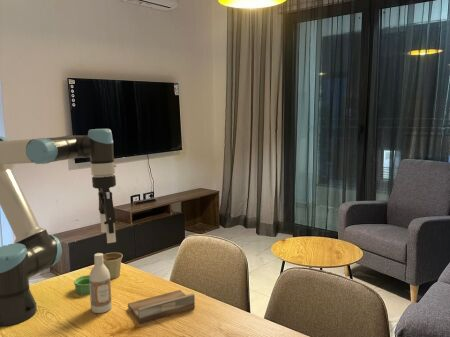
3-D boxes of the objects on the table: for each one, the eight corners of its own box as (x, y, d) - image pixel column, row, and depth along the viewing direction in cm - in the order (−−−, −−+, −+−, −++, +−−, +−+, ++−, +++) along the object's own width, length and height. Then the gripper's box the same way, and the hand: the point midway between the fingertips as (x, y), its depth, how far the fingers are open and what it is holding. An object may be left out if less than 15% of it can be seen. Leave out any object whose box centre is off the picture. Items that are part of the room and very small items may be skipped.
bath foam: (94, 316, 134) (90, 259, 131) (88, 307, 140) (85, 253, 137) (114, 310, 138) (111, 255, 135) (108, 302, 144) (105, 249, 141)
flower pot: (111, 282, 160) (110, 262, 159) (95, 277, 165) (94, 258, 164) (128, 274, 168) (127, 255, 167) (112, 270, 173) (111, 251, 172)
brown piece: (128, 308, 139) (127, 295, 138) (180, 294, 149) (179, 282, 148) (140, 324, 128) (139, 310, 128) (195, 308, 139) (194, 295, 138)
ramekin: (70, 290, 153) (69, 280, 153) (91, 283, 160) (91, 273, 159) (81, 298, 147) (81, 287, 147) (103, 290, 154) (103, 279, 153)
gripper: (122, 179, 122) (126, 245, 125) (109, 170, 145) (113, 226, 147) (96, 181, 119) (102, 249, 122) (87, 172, 142) (92, 229, 144)
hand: (108, 236), depth 135 cm, fingers open, 13 cm apart
